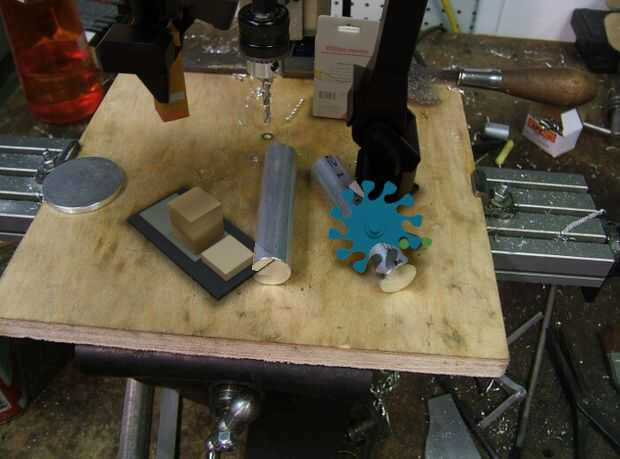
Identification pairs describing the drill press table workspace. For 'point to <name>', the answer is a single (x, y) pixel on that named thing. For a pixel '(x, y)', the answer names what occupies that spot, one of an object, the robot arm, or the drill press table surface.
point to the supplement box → (175, 89)
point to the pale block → (196, 220)
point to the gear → (376, 224)
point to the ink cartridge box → (339, 60)
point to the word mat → (209, 263)
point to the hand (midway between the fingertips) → (169, 91)
